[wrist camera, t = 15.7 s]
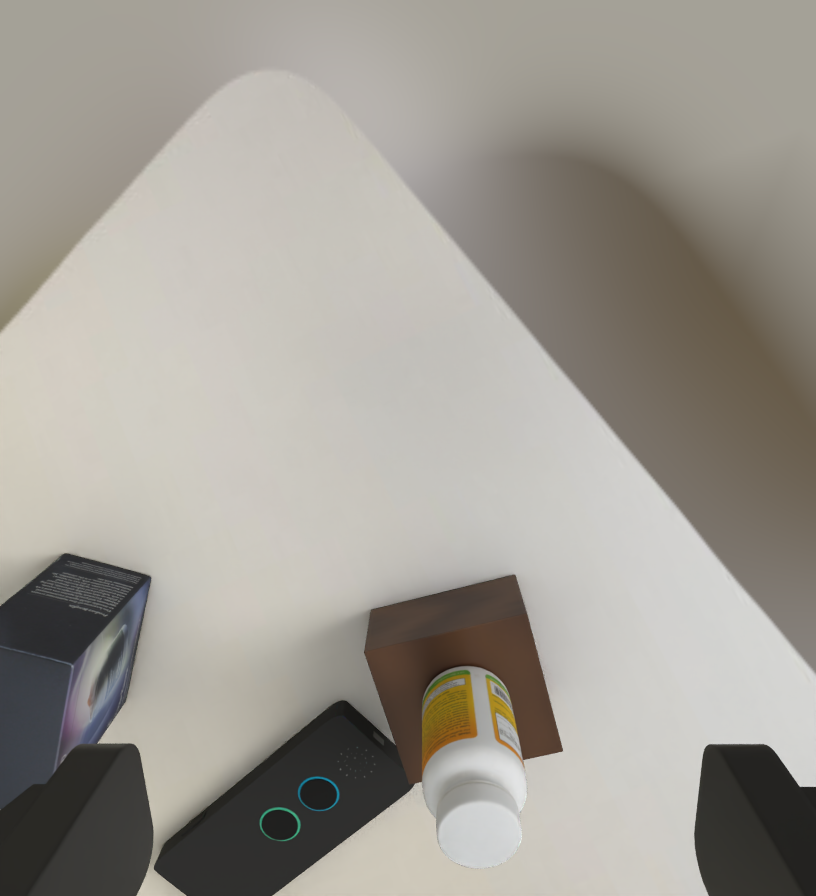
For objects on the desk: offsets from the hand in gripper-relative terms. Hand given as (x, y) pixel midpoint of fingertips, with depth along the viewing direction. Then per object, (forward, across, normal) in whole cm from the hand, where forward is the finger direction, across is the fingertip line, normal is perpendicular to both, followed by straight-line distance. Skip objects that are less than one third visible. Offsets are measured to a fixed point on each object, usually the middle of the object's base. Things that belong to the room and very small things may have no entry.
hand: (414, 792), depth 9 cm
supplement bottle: (+26, -2, +18) cm, 32 cm away
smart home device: (+31, +12, +31) cm, 45 cm away
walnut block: (+31, -2, +19) cm, 36 cm away
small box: (+31, +23, +16) cm, 42 cm away
